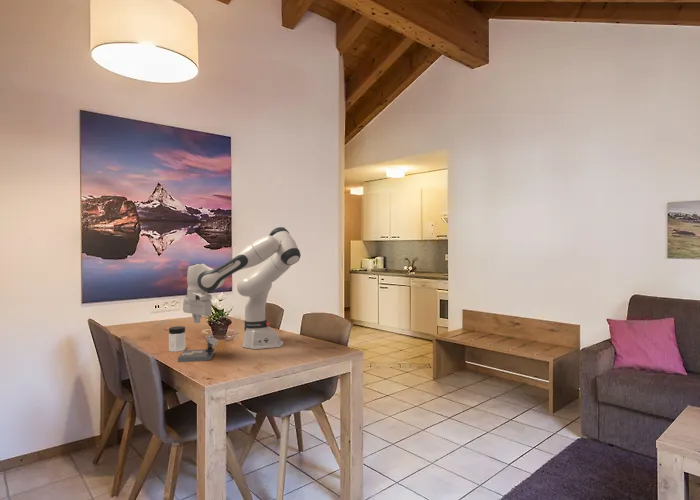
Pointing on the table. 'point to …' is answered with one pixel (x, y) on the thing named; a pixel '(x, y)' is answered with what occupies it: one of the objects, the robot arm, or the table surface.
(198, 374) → the table surface
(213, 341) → the bar
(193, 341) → the table surface
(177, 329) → the jar
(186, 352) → the chassis plate
